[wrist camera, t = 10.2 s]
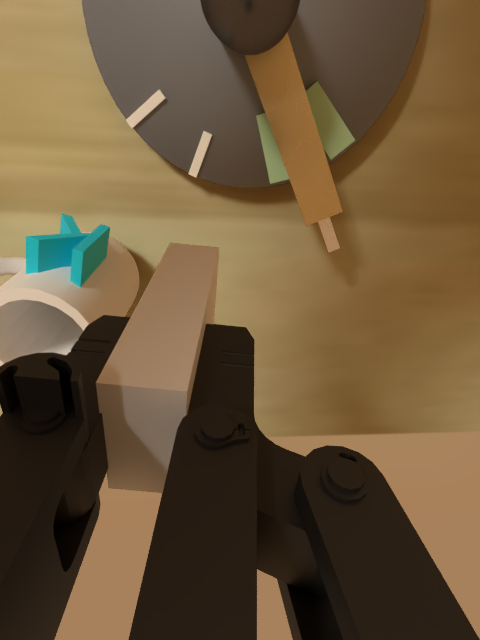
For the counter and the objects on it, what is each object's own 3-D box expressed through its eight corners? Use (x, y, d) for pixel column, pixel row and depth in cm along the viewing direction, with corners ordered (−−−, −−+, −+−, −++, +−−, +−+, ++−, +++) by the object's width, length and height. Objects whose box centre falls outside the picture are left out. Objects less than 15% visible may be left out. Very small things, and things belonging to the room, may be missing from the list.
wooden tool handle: (198, -14, 22) (181, -44, 17) (274, -59, 21) (280, -105, 16) (298, 248, 30) (307, 282, 25) (358, 225, 29) (380, 255, 24)
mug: (157, 212, 31) (108, 275, 21) (140, 309, 36) (94, 400, 25) (4, 168, 30) (-130, 213, 20) (7, 275, 34) (-100, 356, 24)
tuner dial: (144, -347, 18) (132, -389, 16) (495, -102, 22) (514, -118, 20) (61, 109, 28) (49, 110, 26) (314, 225, 31) (317, 233, 30)
